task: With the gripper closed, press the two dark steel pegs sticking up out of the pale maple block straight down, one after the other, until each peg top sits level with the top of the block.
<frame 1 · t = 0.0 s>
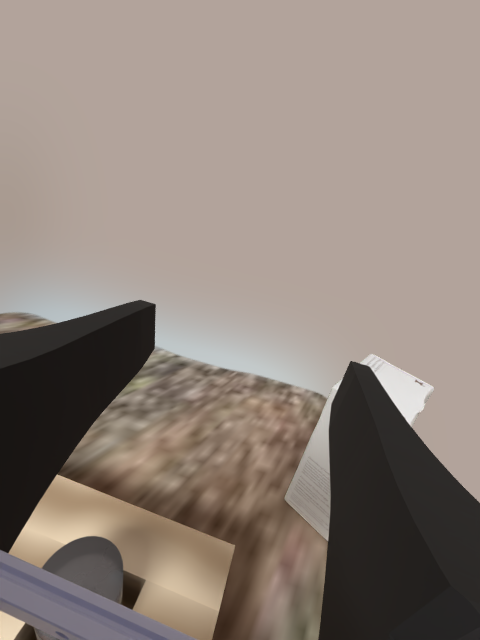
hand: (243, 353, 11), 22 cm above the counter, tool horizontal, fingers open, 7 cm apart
skincare box: (327, 500, 31), on the counter
steel peg 1: (81, 602, 16), point 6 cm above the counter, slide at 3.5 cm
maple peg block: (3, 610, 19), on the counter
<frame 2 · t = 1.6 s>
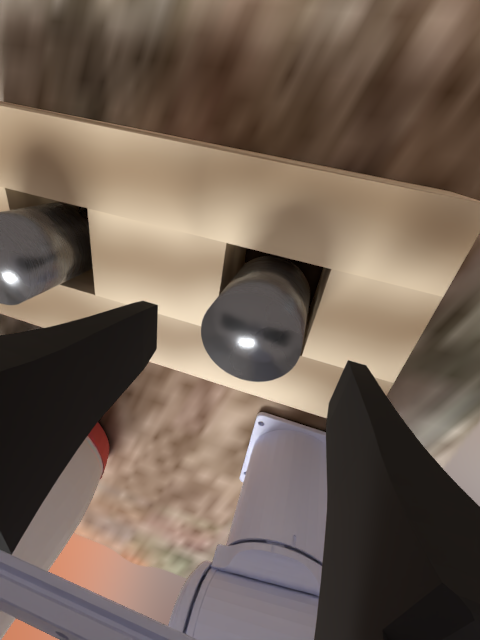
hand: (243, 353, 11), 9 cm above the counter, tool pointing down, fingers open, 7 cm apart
citrus juicer: (60, 422, 34), on the counter
steel peg 1: (261, 313, 14), point 6 cm above the counter, slide at 3.5 cm
maple peg block: (192, 246, 20), on the counter
steel peg 2: (33, 250, 15), point 6 cm above the counter, slide at 3.5 cm
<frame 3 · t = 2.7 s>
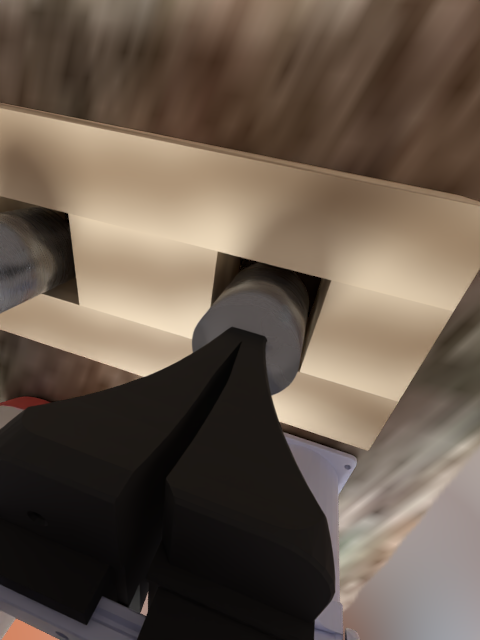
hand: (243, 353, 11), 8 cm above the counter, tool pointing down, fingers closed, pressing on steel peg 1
citrus juicer: (51, 431, 33), on the counter
steel peg 1: (257, 324, 13), point 6 cm above the counter, slide at 3.2 cm, touching gripper
maple peg block: (184, 252, 19), on the counter
steel peg 2: (11, 258, 14), point 6 cm above the counter, slide at 3.5 cm
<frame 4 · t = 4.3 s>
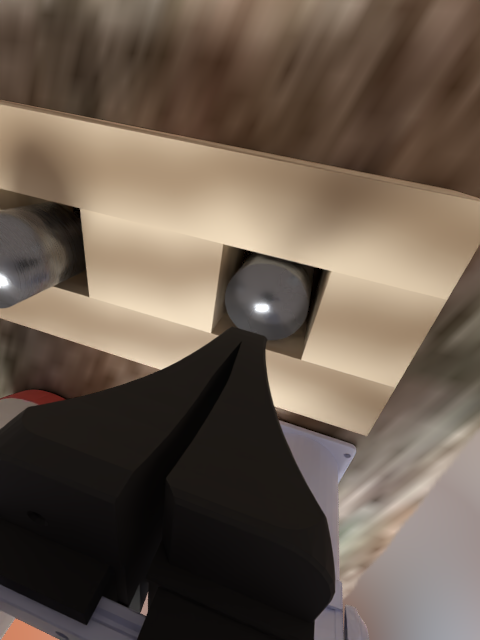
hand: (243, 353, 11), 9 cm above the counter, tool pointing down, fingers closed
citrus juicer: (57, 424, 34), on the counter
steel peg 1: (273, 286, 16), point 3 cm above the counter, slide at -0.1 cm
maple peg block: (188, 247, 19), on the counter
steel peg 2: (25, 251, 15), point 6 cm above the counter, slide at 3.5 cm
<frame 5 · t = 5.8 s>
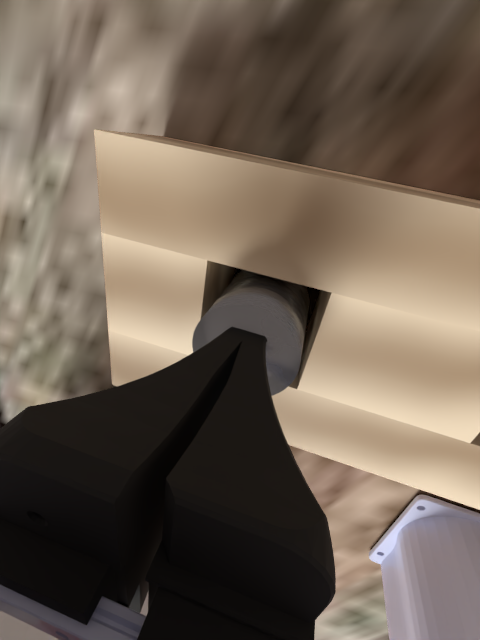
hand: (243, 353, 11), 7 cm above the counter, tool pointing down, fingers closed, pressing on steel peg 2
citrus juicer: (144, 479, 30), on the counter
maple peg block: (386, 314, 16), on the counter
steel peg 2: (257, 324, 13), point 5 cm above the counter, slide at 1.9 cm, touching gripper
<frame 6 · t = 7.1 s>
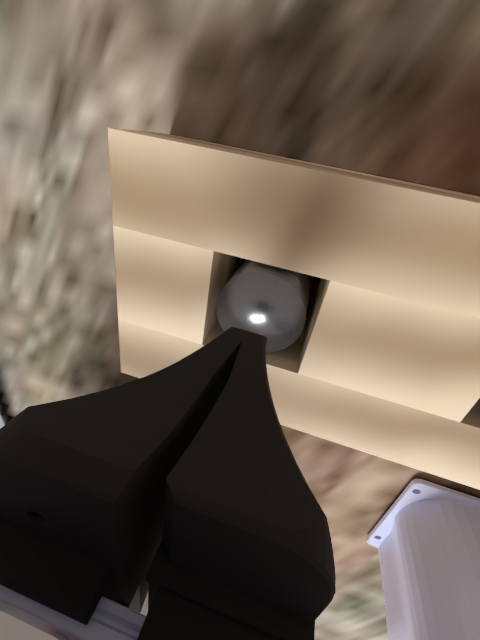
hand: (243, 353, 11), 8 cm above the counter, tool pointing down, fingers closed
citrus juicer: (149, 469, 31), on the counter
maple peg block: (382, 303, 17), on the counter
steel peg 2: (268, 294, 15), point 3 cm above the counter, slide at -0.1 cm
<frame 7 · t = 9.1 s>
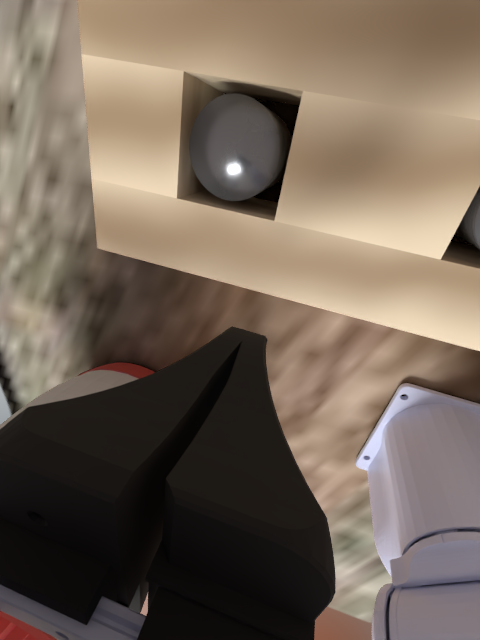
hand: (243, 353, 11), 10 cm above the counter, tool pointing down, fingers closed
citrus juicer: (136, 403, 31), on the counter
maple peg block: (364, 173, 16), on the counter
steel peg 2: (246, 151, 15), point 3 cm above the counter, slide at -0.1 cm
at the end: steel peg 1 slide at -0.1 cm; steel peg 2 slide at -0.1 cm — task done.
